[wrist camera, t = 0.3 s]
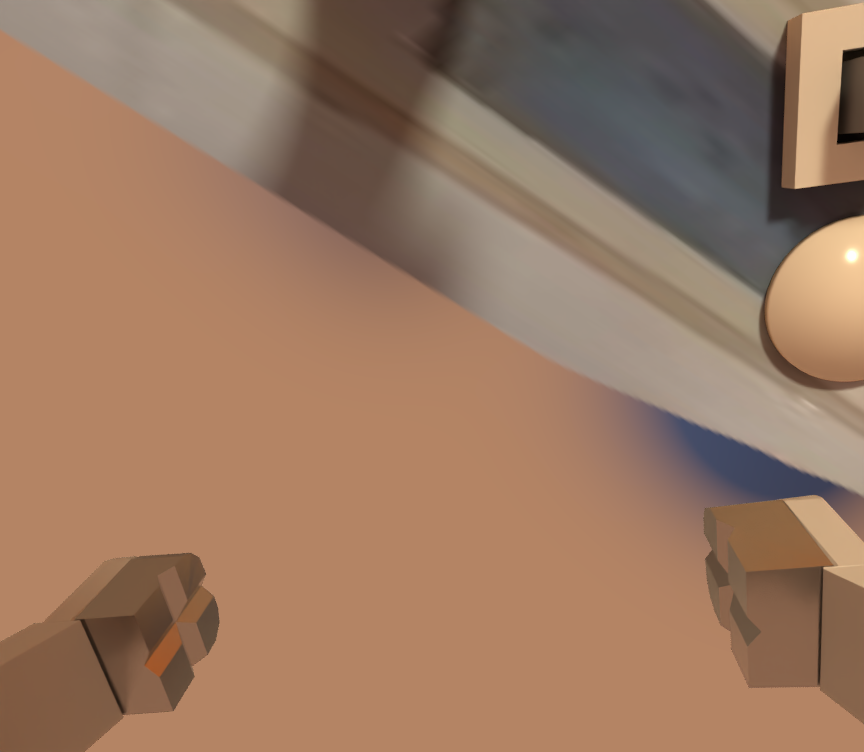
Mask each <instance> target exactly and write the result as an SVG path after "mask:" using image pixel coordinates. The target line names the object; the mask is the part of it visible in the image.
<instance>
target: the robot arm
mask: <svg viewBox="0 0 864 752" xmlns="http://www.w3.org/2000/svg"><path fill="white" fill-rule="evenodd" d="M703 519H704V534H705V536H706V538H707V540H708V542H709V544H710V546H711V548H712V551H711V552H710V553H709V555H708V556H707V557H706V559H705V562H706V575H707V582H708V588H709V593H710V598H711V601H712V604H713V607H714V611H715V613H716V615H717V618H718V620H719V623H720V625H721V626H723V627H724V628H726V629H727V630H729V631H730V632H731V650H732V652H733V654H734V656H735V658H736V660H737V663H738V665H739V667H740V669H741V671H742V674H743V675H744V678H745V680H746V682H747V685H748V687H749V688H766V687H820V690H821V691H822V692H823V693H825V694H826V695H827V696H829V697H830V698H831V699H832V700H834V701H835V702H836V703H838V704H839V705H840V706H841V707H843V708H844V709H845V710H846V711H848V712H849V713H850V714H852V715H853V716H854V717H855V718H857V719H858V720H859V721H861V722H862V723H863V724H864V542H863V541H862V540H861V539H860V538H859V537H858V536H857V535H856V534H855V533H854V531H853V530H852V529H851V528H850V527H849V526H848V525H847V524H846V523H845V522H844V521H843V520H842V519H841V518H840V516H839V515H838V514H837V513H836V512H835V511H834V510H833V509H832V508H831V507H830V506H829V504H828V503H827V502H826V501H825V500H824V499H823V498H822V497H819V496H816V495H811V496H803V497H795V498H787V499H780V500H773V501H764V502H755V503H746V504H737V505H728V506H719V507H710V508H705V511H704V518H703ZM205 575H206V573H205V570H204V568H203V565H202V563H201V560H200V558H199V557H198V556H196V555H194V554H192V553H182V554H167V555H152V556H140V557H135V556H134V557H126V558H125V557H124V558H116V559H111V560H108V561H105V562H103V563H102V564H101V565H100V566H99V567H98V568H97V569H96V570H95V571H94V572H93V573H92V574H91V575H90V577H88V578H87V579H86V580H85V581H84V582H83V583H82V584H81V585H80V586H79V587H78V588H77V589H76V590H75V591H74V592H73V593H72V594H71V595H70V596H69V597H68V598H67V599H66V600H65V601H64V602H63V603H62V604H61V605H60V606H59V607H58V608H57V609H56V610H55V611H54V612H53V613H52V614H51V615H50V616H49V617H48V618H47V619H46V620H45V621H44V622H43V623H34V624H32V625H30V626H29V627H27V628H25V629H23V630H21V631H19V632H17V633H16V634H14V635H12V636H10V637H8V638H6V639H5V640H3V641H1V642H0V752H85V751H86V750H87V749H88V748H89V747H91V746H92V745H93V744H94V743H95V742H96V741H97V740H99V739H100V738H101V737H102V736H103V735H104V734H105V733H107V732H108V731H109V730H110V729H111V728H112V727H113V726H114V725H116V724H117V723H118V722H119V721H120V720H121V719H122V718H123V715H129V714H143V713H157V712H169V711H174V709H175V708H176V706H177V704H178V703H179V701H180V699H181V698H182V696H183V695H184V693H185V691H186V690H187V688H188V686H189V685H190V683H191V681H192V680H193V678H194V672H193V667H192V666H193V665H194V664H196V663H197V662H198V661H200V660H201V659H202V658H204V657H205V656H206V655H208V653H209V651H210V650H211V648H212V646H213V644H214V643H215V641H216V637H217V632H218V627H219V613H218V607H217V604H216V601H215V598H214V596H213V595H212V594H211V593H210V592H209V591H208V590H206V589H205V588H204V587H203V586H202V583H203V581H204V578H205Z"/></svg>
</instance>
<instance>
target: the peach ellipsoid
mask: <svg viewBox="0 0 864 752" xmlns="http://www.w3.org/2000/svg"><path fill="white" fill-rule="evenodd" d="M764 311H765V323H766V328H767V331H768V334H769V337H770V339H771V341H772V343H773V345H774V346H775V348H776V349H777V350H778V352H779V353H780V354H781V355H782V356H783V357H784V358H785V359H786V360H787V361H788V362H790V363H791V364H792V365H794V366H795V367H796V368H798V369H799V370H801V371H803V372H805V373H807V374H809V375H811V376H814V377H817V378H819V379H824V380H829V381H838V382H851V381H860V380H864V215H858V216H853V217H847V218H844V219H841V220H837V221H834V222H832V223H830V224H827V225H825V226H823V227H821V228H819V229H818V230H816V231H814V232H812V233H811V234H810V235H808V236H807V237H805V238H804V239H803V240H801V241H800V242H799V243H798V244H797V245H796V246H795V247H794V248H793V249H792V250H791V251H790V252H789V253H788V254H787V255H786V256H785V258H784V259H783V260H782V262H781V263H780V265H779V266H778V268H777V269H776V271H775V273H774V275H773V277H772V279H771V282H770V284H769V287H768V290H767V294H766V299H765V308H764Z"/></svg>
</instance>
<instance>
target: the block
mask: <svg viewBox="0 0 864 752" xmlns="http://www.w3.org/2000/svg"><path fill="white" fill-rule="evenodd" d="M863 132H864V56H863V57H859V58H856V59H852V60H849V61H845V62H842V71H841V87H840V102H839V118H838V133H837V134H847V133H863Z"/></svg>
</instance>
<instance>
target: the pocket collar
mask: <svg viewBox="0 0 864 752" xmlns="http://www.w3.org/2000/svg"><path fill="white" fill-rule="evenodd" d="M863 49H864V3H860V4H855V5H849V6H843V7H837V8H832V9H826V10H820V11H815V12H809V13H803V14H801V15H799V16H797V17H795V18H792V19H790V20H788V25H787V52H786V78H785V105H784V131H783V158H782V184H781V187H782V188H791V189H798V188H806V187H813V186H821V185H828V184H836V183H843V182H851V181H859V180H864V139H863V140H856V141H849V142H841V143H837V133H838V118H839V102H840V87H841V71H842V55H843V53H845V52H851V51H857V50H863Z"/></svg>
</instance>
